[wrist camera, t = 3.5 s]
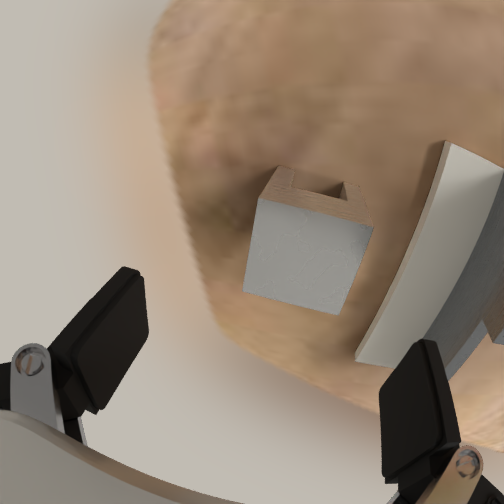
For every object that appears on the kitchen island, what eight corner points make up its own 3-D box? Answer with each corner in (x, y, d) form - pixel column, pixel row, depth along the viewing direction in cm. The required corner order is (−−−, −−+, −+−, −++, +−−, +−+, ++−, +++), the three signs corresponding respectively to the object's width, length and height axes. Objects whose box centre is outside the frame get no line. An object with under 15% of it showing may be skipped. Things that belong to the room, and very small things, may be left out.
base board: (445, 140, 14) (452, 143, 13) (544, 194, 13) (553, 199, 12) (354, 352, 23) (355, 363, 22) (445, 367, 22) (448, 377, 21)
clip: (278, 165, 17) (258, 198, 12) (359, 186, 17) (373, 227, 12) (264, 237, 20) (242, 291, 15) (337, 255, 19) (338, 315, 14)
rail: (504, 169, 13) (565, 209, 7) (516, 176, 12) (576, 217, 7) (400, 369, 22) (406, 433, 16) (411, 370, 22) (419, 434, 16)
